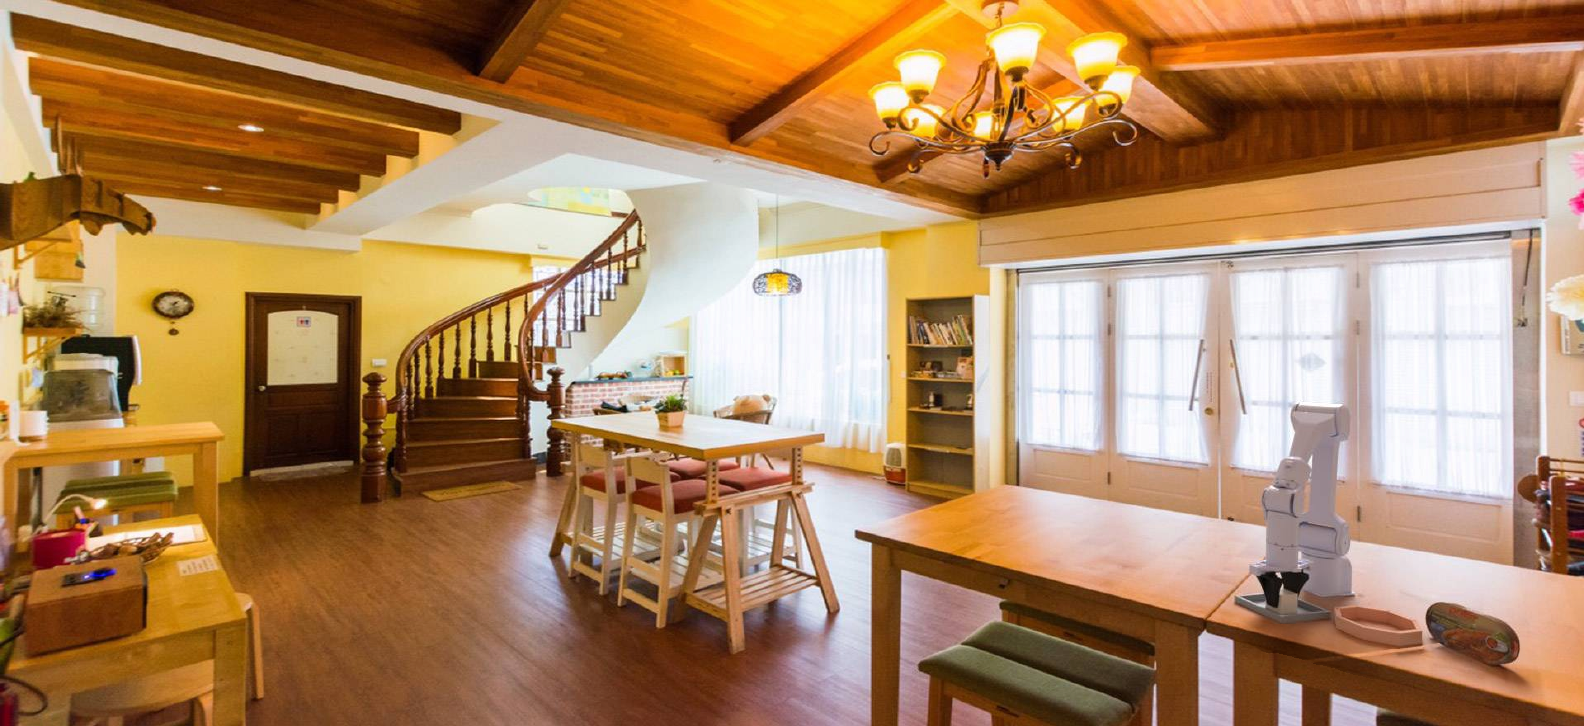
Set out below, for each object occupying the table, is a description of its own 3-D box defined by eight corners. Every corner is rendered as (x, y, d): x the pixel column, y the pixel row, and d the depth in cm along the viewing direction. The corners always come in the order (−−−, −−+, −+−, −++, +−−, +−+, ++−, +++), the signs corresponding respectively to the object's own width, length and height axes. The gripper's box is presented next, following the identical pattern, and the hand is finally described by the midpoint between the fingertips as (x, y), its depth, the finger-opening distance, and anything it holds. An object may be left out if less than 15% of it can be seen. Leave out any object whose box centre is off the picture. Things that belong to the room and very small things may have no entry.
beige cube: (1280, 605, 154) (1281, 587, 153) (1297, 612, 150) (1297, 593, 150) (1265, 606, 153) (1265, 588, 153) (1281, 614, 149) (1281, 595, 149)
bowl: (1370, 617, 148) (1370, 603, 148) (1437, 644, 135) (1438, 628, 135) (1318, 623, 145) (1319, 609, 145) (1382, 651, 133) (1383, 635, 132)
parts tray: (1280, 599, 158) (1280, 590, 158) (1330, 620, 147) (1330, 611, 146) (1234, 604, 156) (1234, 595, 156) (1282, 626, 144) (1282, 616, 144)
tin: (1423, 637, 138) (1424, 595, 138) (1438, 636, 139) (1439, 594, 138) (1507, 674, 123) (1508, 627, 123) (1523, 673, 124) (1524, 626, 123)
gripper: (1269, 551, 145) (1268, 615, 146) (1327, 545, 148) (1326, 609, 149) (1241, 541, 152) (1240, 602, 153) (1297, 536, 155) (1296, 596, 156)
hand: (1281, 605), depth 151 cm, fingers closed on beige cube, 4 cm apart
